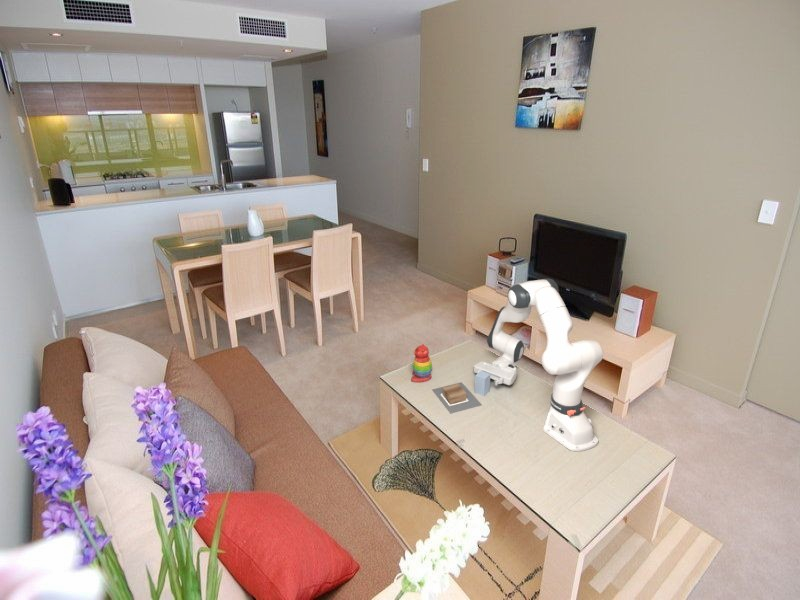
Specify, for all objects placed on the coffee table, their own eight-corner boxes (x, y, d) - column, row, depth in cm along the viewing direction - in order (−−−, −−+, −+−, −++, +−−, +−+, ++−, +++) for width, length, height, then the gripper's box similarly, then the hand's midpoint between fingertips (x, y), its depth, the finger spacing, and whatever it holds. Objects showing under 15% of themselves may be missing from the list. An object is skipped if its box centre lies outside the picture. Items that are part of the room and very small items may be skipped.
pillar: (489, 392, 218) (490, 374, 214) (483, 397, 215) (485, 378, 211) (480, 388, 221) (481, 370, 217) (474, 393, 218) (475, 375, 214)
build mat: (482, 405, 209) (482, 405, 208) (450, 414, 204) (450, 413, 203) (461, 382, 226) (461, 382, 226) (431, 390, 221) (431, 389, 221)
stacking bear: (412, 371, 237) (412, 340, 230) (432, 372, 235) (432, 341, 228) (410, 382, 227) (409, 351, 220) (431, 384, 226) (431, 352, 218)
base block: (466, 400, 212) (466, 393, 210) (450, 404, 210) (450, 397, 208) (458, 391, 219) (458, 383, 217) (442, 394, 216) (442, 387, 215)
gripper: (482, 355, 232) (467, 367, 223) (519, 368, 220) (505, 381, 211) (481, 366, 235) (466, 378, 225) (518, 380, 223) (504, 393, 213)
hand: (486, 380), depth 218 cm, fingers open, 8 cm apart
